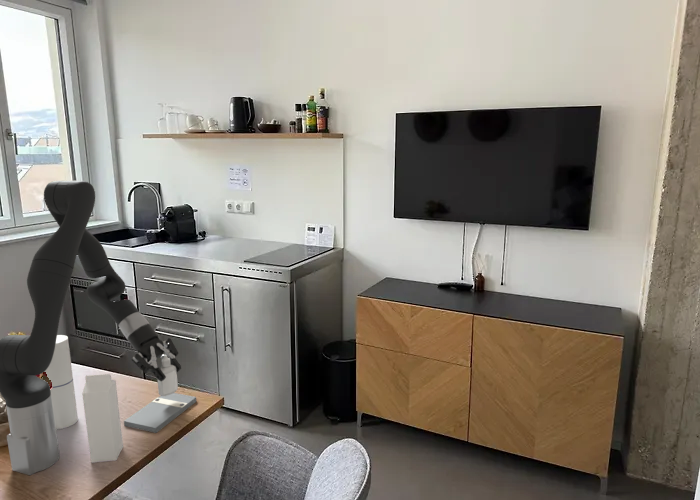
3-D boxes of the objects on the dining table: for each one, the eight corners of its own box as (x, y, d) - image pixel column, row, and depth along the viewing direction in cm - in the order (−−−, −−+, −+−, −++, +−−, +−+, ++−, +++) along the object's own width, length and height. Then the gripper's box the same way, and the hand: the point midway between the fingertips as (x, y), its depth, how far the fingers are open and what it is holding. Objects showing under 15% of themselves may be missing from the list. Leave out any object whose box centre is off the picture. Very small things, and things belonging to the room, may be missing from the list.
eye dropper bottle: (179, 393, 147) (176, 356, 145) (159, 397, 145) (156, 359, 142) (177, 387, 151) (174, 350, 148) (157, 391, 148) (154, 354, 146)
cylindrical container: (55, 432, 136) (44, 347, 131) (44, 423, 140) (33, 340, 135) (82, 420, 141) (72, 338, 136) (71, 412, 146) (61, 333, 141)
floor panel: (156, 432, 135) (155, 427, 135) (124, 425, 139) (123, 420, 138) (196, 401, 152) (196, 396, 151) (167, 395, 155) (166, 390, 155)
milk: (99, 449, 128) (89, 370, 124) (123, 446, 129) (114, 368, 125) (90, 463, 122) (80, 381, 118) (116, 461, 123) (106, 379, 119)
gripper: (124, 332, 140) (159, 379, 138) (162, 316, 153) (194, 358, 150) (112, 346, 143) (146, 392, 141) (150, 329, 156) (182, 371, 154)
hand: (171, 374), depth 146 cm, fingers closed on eye dropper bottle, 5 cm apart
